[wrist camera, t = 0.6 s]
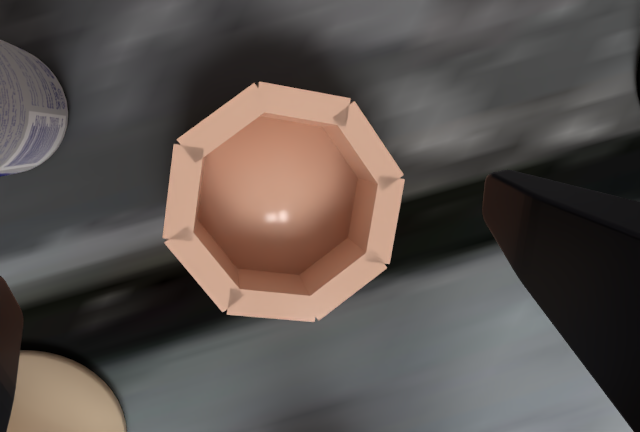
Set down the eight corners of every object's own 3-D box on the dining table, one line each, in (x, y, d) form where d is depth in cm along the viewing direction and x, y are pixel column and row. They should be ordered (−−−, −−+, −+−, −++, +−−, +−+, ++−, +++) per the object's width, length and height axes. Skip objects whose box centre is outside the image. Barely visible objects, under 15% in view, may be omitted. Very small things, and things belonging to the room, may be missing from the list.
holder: (354, 298, 25) (378, 327, 21) (165, 279, 23) (154, 308, 19) (385, 115, 24) (417, 110, 20) (190, 79, 22) (182, 67, 18)
